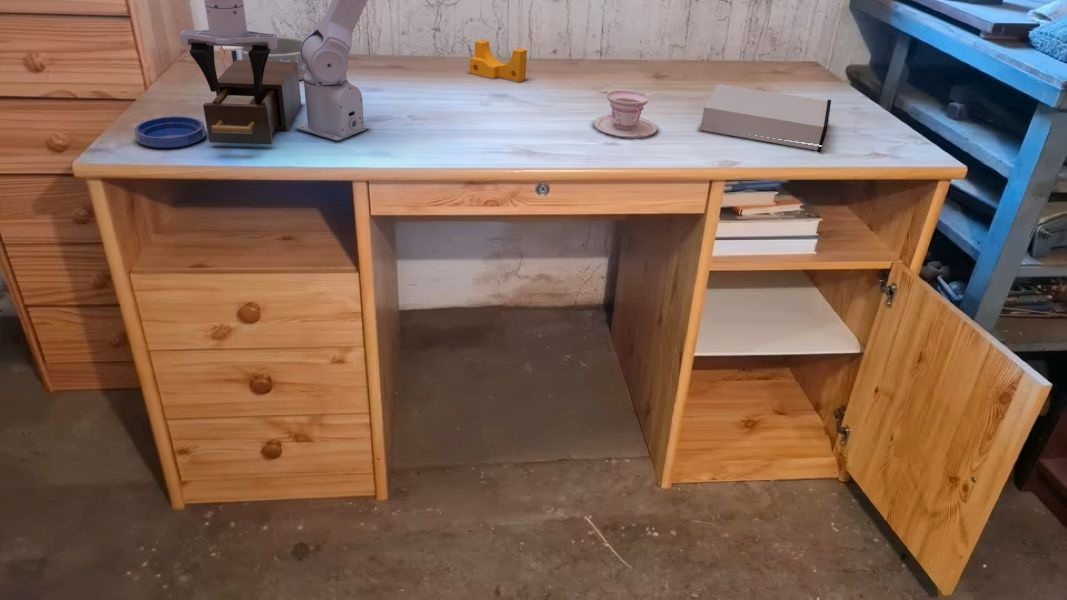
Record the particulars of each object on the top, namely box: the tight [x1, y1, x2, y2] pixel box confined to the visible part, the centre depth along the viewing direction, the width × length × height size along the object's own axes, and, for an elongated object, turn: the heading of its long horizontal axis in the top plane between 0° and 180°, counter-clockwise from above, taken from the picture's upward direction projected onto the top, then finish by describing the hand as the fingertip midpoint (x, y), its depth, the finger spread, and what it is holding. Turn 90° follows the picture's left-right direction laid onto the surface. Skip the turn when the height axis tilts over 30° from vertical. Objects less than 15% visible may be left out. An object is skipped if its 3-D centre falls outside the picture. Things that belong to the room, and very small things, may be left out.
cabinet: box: [215, 60, 302, 131], centre depth 140 cm, size 14×11×8 cm
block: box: [222, 95, 255, 104], centre depth 131 cm, size 4×4×4 cm
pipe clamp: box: [469, 39, 528, 83], centre depth 171 cm, size 12×4×6 cm, turn 57°
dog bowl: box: [244, 35, 308, 81], centre depth 166 cm, size 17×18×5 cm
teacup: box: [593, 88, 658, 138], centre depth 147 cm, size 12×12×6 cm
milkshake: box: [218, 46, 244, 72], centre depth 153 cm, size 4×5×10 cm
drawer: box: [202, 87, 281, 145], centre depth 131 cm, size 17×10×6 cm, turn 4°
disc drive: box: [699, 83, 832, 153], centre depth 152 cm, size 18×22×5 cm
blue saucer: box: [134, 115, 207, 149], centre depth 130 cm, size 11×11×2 cm
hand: (236, 90), depth 129 cm, fingers open, 6 cm apart
